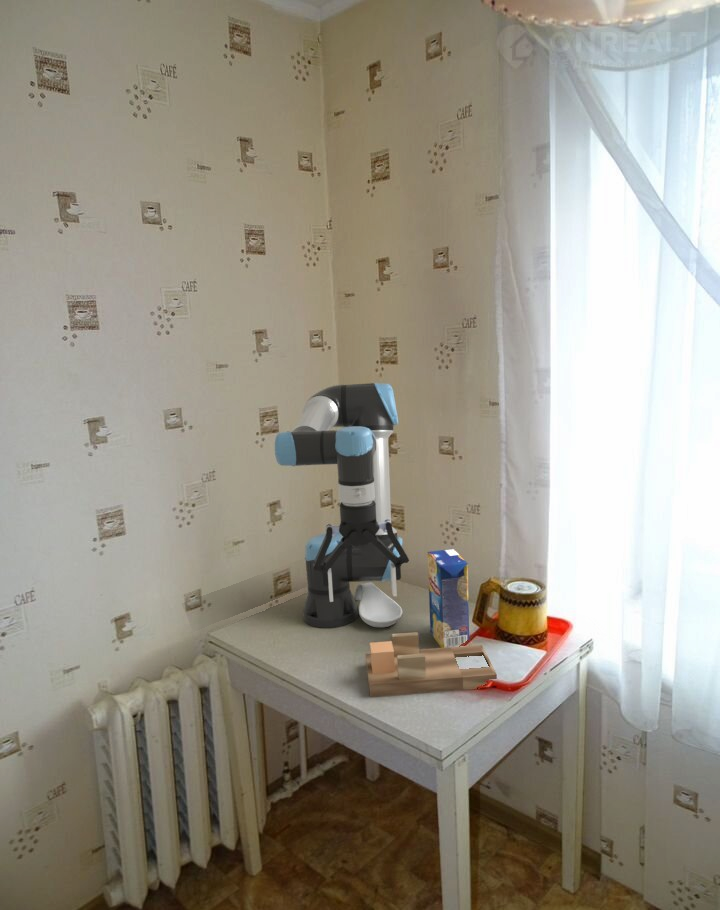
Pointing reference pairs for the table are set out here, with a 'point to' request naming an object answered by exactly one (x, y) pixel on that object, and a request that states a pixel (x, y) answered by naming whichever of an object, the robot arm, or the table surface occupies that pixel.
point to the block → (382, 657)
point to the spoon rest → (376, 606)
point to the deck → (427, 669)
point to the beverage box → (448, 597)
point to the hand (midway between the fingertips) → (362, 596)
